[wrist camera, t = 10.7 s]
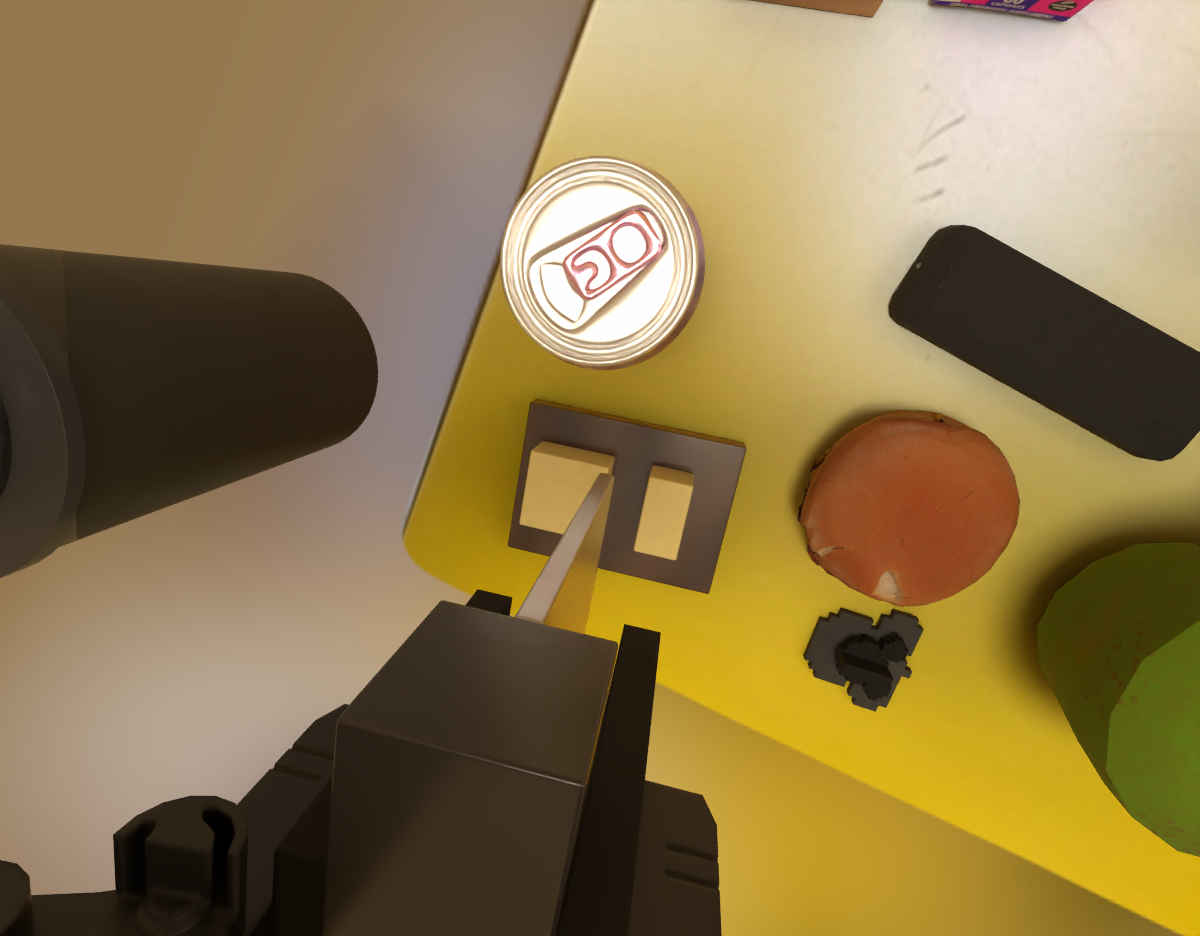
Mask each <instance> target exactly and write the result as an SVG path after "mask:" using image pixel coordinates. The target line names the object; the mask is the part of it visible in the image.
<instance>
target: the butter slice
mask: <svg viewBox="0 0 1200 936" xmlns="http://www.w3.org/2000/svg"><path fill="white" fill-rule="evenodd" d="M693 479H694V475H693V474H692V473H688V472H683V471H679V470H674V469H670V468H665V467H660V466H656V465H653V466H652V469H651V472H650V476H649V480H648V485H647V489H646V494H645V498H644V503H643V508H642V512H641V517H640V522H639V526H638V531H637V535H636V540H635V545H634V551H637V552H641V553H645V554H650V555H654V556H658V557H663V558H667V559H671V560H676V559H677V554H678V550H679V546H680V542H681V538H682V533H683V529H684V525H685V521H686V517H687V512H688V508H689V504H690V500H691V496H692V491H693Z"/></svg>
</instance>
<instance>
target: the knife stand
mask: <svg viewBox="0 0 1200 936" xmlns="http://www.w3.org/2000/svg"><path fill="white" fill-rule="evenodd" d="M757 1H764V2H771V3H778V4H785V5H792V6H799V7H806V8H813V9H820V10H827V11H834V12H841V13H848V14H855V15H862V16H869V17H873V16H874V14H875V13H876V11H877V10H878V8H879V6H880V5H881V3H882V1H883V0H757Z"/></svg>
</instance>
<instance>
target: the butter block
mask: <svg viewBox="0 0 1200 936" xmlns="http://www.w3.org/2000/svg"><path fill="white" fill-rule="evenodd" d="M614 461H615V457H614V456H610V455H606V454H601V453H596V452H592V451H587V450H583V449H578V448H574V447H569V446H564V445H560V444H555V443H551V442H546V441H542V442H541V443H540V444H539V445H538V446H536V447H535V448H534V449H533V450H532V451H531V454H530V460H529V466H528V472H527V479H526V485H525V491H524V497H523V504H522V510H521V516H520V522H519V523H520V524H521V525H525V526H529V527H534V528H538V529H542V530H547V531H551V532H555V533H559V534H564V533H565V531H566V529H567V527H568V526H569V524H570V522H571V521H572V519H573V517H574V516H575V514H576V512H577V511H578V509H579V507H580V505H581V504H582V502H583V500H584V499H585V497H586V495H587V494H588V492H589V490H590V488H591V487H592V485H593V483H594V482H595V480H596V478H597V477H598V475H599V473H605V474H610V475H612V471H613V466H614Z"/></svg>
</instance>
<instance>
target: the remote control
mask: <svg viewBox="0 0 1200 936" xmlns="http://www.w3.org/2000/svg"><path fill="white" fill-rule="evenodd" d="M889 310H890V316H891V317H892V319H893V320H894V321H895V322H896V323H897V324H899V325H901V326H902V327H904V328H906V329H908V330H910V331H911V332H913V333H915V334H917V335H919V336H920V337H922V338H924V339H926V340H928V341H929V342H931V343H933V344H935V345H937V346H938V347H940V348H942V349H944V350H945V351H947V352H949V353H951V354H953V355H954V356H956V357H958V358H960V359H962V360H963V361H965V362H967V363H969V364H971V365H972V366H974V367H976V368H978V369H980V370H981V371H983V372H985V373H987V374H988V375H990V376H992V377H994V378H996V379H997V380H999V381H1001V382H1003V383H1005V384H1006V385H1008V386H1010V387H1012V388H1014V389H1015V390H1017V391H1019V392H1021V393H1022V394H1024V395H1026V396H1028V397H1030V398H1031V399H1033V400H1035V401H1037V402H1039V403H1040V404H1042V405H1044V406H1046V407H1048V408H1049V409H1051V410H1053V411H1055V412H1057V413H1058V414H1060V415H1062V416H1064V417H1065V418H1067V419H1069V420H1071V421H1073V422H1074V423H1076V424H1078V425H1080V426H1082V427H1083V428H1085V429H1087V430H1089V431H1091V432H1092V433H1094V434H1096V435H1098V436H1100V437H1101V438H1103V439H1105V440H1107V441H1109V442H1110V443H1112V444H1114V445H1116V446H1117V447H1119V448H1121V449H1123V450H1125V451H1126V452H1128V453H1130V454H1132V455H1134V456H1136V457H1141V458H1145V459H1150V460H1156V461H1164V460H1168V459H1172V458H1173V457H1175V456H1176V455H1177V454H1179V453H1180V452H1181V451H1182V450H1183V449H1184V448H1185V447H1186V446H1187V445H1188V444H1189V442H1190V441H1191V440H1192V439H1193V438H1194V437H1195V436H1196V434H1197V433H1198V432H1199V431H1200V352H1198V351H1196V350H1195V349H1193V348H1191V347H1189V346H1187V345H1186V344H1184V343H1182V342H1180V341H1178V340H1177V339H1175V338H1173V337H1171V336H1169V335H1168V334H1166V333H1164V332H1162V331H1160V330H1159V329H1157V328H1155V327H1153V326H1151V325H1150V324H1148V323H1146V322H1144V321H1142V320H1141V319H1139V318H1137V317H1135V316H1134V315H1132V314H1130V313H1128V312H1126V311H1125V310H1123V309H1121V308H1119V307H1117V306H1116V305H1114V304H1112V303H1110V302H1108V301H1107V300H1105V299H1103V298H1101V297H1099V296H1098V295H1096V294H1094V293H1092V292H1090V291H1089V290H1087V289H1085V288H1083V287H1081V286H1080V285H1078V284H1076V283H1074V282H1072V281H1071V280H1069V279H1067V278H1065V277H1063V276H1062V275H1060V274H1058V273H1056V272H1054V271H1053V270H1051V269H1049V268H1047V267H1045V266H1044V265H1042V264H1040V263H1038V262H1036V261H1035V260H1033V259H1031V258H1029V257H1028V256H1026V255H1024V254H1022V253H1020V252H1019V251H1017V250H1015V249H1013V248H1011V247H1010V246H1008V245H1006V244H1004V243H1002V242H1001V241H999V240H997V239H995V238H993V237H992V236H990V235H988V234H986V233H984V232H983V231H981V230H979V229H977V228H975V227H971V226H966V225H951V226H948V227H945V228H942V229H940V230H939V231H938V232H937V233H936V234H934V235H933V236H932V237H931V239H930V240H929V242H928V243H927V245H926V246H925V248H924V249H923V251H922V252H921V254H920V255H919V257H918V259H917V260H916V262H915V263H914V265H913V266H912V268H911V269H910V271H909V272H908V274H907V275H906V277H905V278H904V280H903V281H902V283H901V284H900V286H899V287H898V289H897V290H896V292H895V293H894V295H893V297H892V300H891V302H890V305H889Z"/></svg>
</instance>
